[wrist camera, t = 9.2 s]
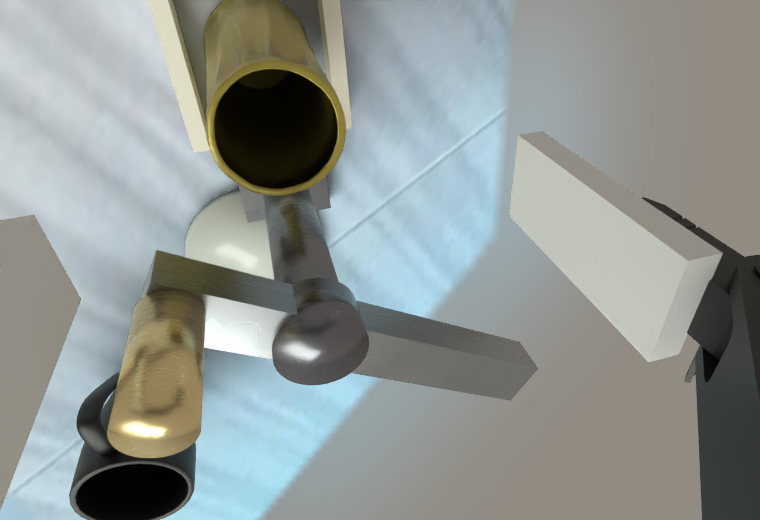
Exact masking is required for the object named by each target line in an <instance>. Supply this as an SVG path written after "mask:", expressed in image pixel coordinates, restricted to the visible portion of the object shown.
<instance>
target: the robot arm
mask: <svg viewBox="0 0 760 520" xmlns="http://www.w3.org/2000/svg"><path fill="white" fill-rule="evenodd" d="M509 216H510V217H511V218H512V219H513V220H514V221H515V222H516V223H517V224H518V225H519V226H520V228H522V230H523V231H524V232H525V233H526V234H527V235H528V236H529V237H530V238H531V239H532V240H533V241H534V242H535V243H536V244H537V245H538V246H539V247H540V248H541V250H542V251H543V252H544V253H545V254H546V255H547V256H548V257H549V258H550V259H551V260H552V261H553V262H554V263H555V264H556V265H557V266H558V267H559V268H560V270H562V271H563V273H564V274H565V275H566V276H567V277H568V278H569V279H570V280H571V281H572V282H573V283H574V284H575V285H576V286H577V287H578V288H579V289H580V290H581V292H583V294H585V296H586V297H587V298H588V299H589V300H590V301H591V302H592V303H593V304H594V305H595V306H596V307H597V308H598V309H599V310H600V311H601V313H602V314H603V315H604V316H605V317H606V318H607V319H608V320H609V321H610V322H611V323H612V324H613V325H614V326H615V327H616V328H617V329H618V330H619V331H620V333H621V334H622V335H623V336H624V337H625V338H626V339H627V340H628V341H629V342H630V343H631V344H632V345H633V346H634V347H635V348H636V349H637V350H638V351H639V352H640V354H641V355H642V356H643V357H644V358H645V359H646V360H647V361H648V362H651V361H655V360H658V359H663V358H666V357H670V356H674V355H678V354H679V353H680V350H681V348H682V346H683V343H684V341H685V339H686V337H687V334H689V335H690V336H691V337H692V338H693V339H694V340H696V341H697V342H698V343H699V344H700V346H699V348H698V350H697V353H696V355H695V357H694V359H693V361H692V363H691V365H690V368H689V370H688V372H687V374H686V377H685V380H684V381H685V382H689V383H690V381H691V379H692V377H693V376H694V375H696V390H697V412H698V435H699V458H700V479H701V502H702V520H760V255H754V256H747V257H744V256H742V255H740V254H739V253H737V252H736V251H735V250H733V249H731V248H730V247H728V246H727V245H725V244H724V243H722V242H721V241H719V240H718V239H716V238H715V237H713V236H712V235H710V234H708V233H707V232H706V231H704V230H702V229H701V228H699V227H698V228H696V226H695V224H693V223H691V222H690V221H689V220H687V219H686V218H685V219H682V216H681V215H679V214H678V213H676V212H675V211H673V210H672V209H670V208H669V207H667V206H666V205H663V204H660V203H658V202H655V201H652V200H650V199H647V198H644V197H643V198H640V197H639V196H637V195H636V194H634V193H633V192H631V191H630V190H628V189H627V188H625V187H624V186H622V185H621V184H619V183H618V182H617V181H615V180H613V179H612V178H611V177H609V176H607V175H606V174H605V173H603V172H602V171H600V170H599V169H597V168H596V167H594V166H593V165H591V164H590V163H588V162H587V161H585V160H584V159H582V158H581V157H579V156H578V155H576V154H575V153H573V152H572V151H570V150H569V149H567V148H566V147H565V146H563V145H562V144H560V143H559V142H557V141H556V140H554V139H553V138H551V137H550V136H548V135H547V134H545V133H544V132H542V131H540V132H534V133H528V134H522V135H518V143H517V151H516V160H515V169H514V177H513V186H512V195H511V205H510V214H509ZM80 300H81V298H80V296H79V294H78V293H77V291H76V289H75V287H74V285H73V284H72V282H71V280H70V278H69V276H68V275H67V273H66V271H65V269H64V267H63V266H62V264H61V262H60V260H59V258H58V257H57V255H56V253H55V251H54V249H53V248H52V246H51V244H50V242H49V240H48V239H47V237H46V235H45V233H44V231H43V230H42V228H41V226H40V224H39V222H38V221H37V219H36V217H35V215H30V216H24V217H18V218H12V219H6V220H0V509H1V507H2V504H3V501H4V499H5V496H6V494H7V491H8V488H9V486H10V483H11V481H12V478H13V475H14V473H15V470H16V468H17V465H18V462H19V460H20V457H21V454H22V452H23V449H24V447H25V444H26V441H27V439H28V436H29V434H30V431H31V428H32V426H33V423H34V421H35V418H36V415H37V413H38V410H39V408H40V405H41V402H42V400H43V397H44V394H45V392H46V389H47V387H48V384H49V381H50V379H51V376H52V374H53V371H54V368H55V366H56V363H57V361H58V358H59V355H60V353H61V350H62V347H63V345H64V342H65V340H66V337H67V334H68V332H69V329H70V327H71V324H72V321H73V319H74V316H75V314H76V311H77V308H78V306H79V303H80Z"/></svg>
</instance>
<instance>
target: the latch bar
mask: <svg viewBox="0 0 760 520" xmlns="http://www.w3.org/2000/svg"><path fill="white" fill-rule="evenodd" d="M204 348H210V349H216V350H222V351H227V352H233V353H239V354H245V355H251V356H256V357H262V358H268V359H273V363H274V366H275V368H276V370H277V371H278V372H279V373H280V374H281V375H282V376H283V377H284V378H286V379H287V380H290V381H292V382H295V383H298V384H303V385H321V384H327V383H330V382H334V381H336V380H339V379H341V378H343V377H345V376H347V375H348V374H350V373H355V374H360V375H366V376H372V377H378V378H384V379H389V380H396V381H401V382H407V383H413V384H419V385H424V386H430V387H436V388H442V389H447V390H453V391H459V392H465V393H470V394H476V395H482V396H488V397H494V398H500V399H505V400H511V399H512V398H513V397H514V396H515V395H516V394H517V392H518V391H519V390H520V389H521V388H522V387H523V385H524V384H525V383H526V382H527V381H528V380H529V379H530V377H531V376H532V375H533V374H534V373H535V371H536V370H537V369H538V368H537V366H536V365H535V363H534V362H533V361H532V359H531V358H530V356H529V355H528V353H527V352H526V350H525V349H524V348H523V346H522V345H521V344H520V342H517V341H513V340H510V339H506V338H502V337H498V336H494V335H490V334H486V333H482V332H478V331H474V330H470V329H466V328H462V327H458V326H454V325H450V324H447V323H442V322H438V321H435V320H431V319H427V318H423V317H419V316H415V315H411V314H407V313H403V312H399V311H395V310H391V309H387V308H383V307H379V306H375V305H371V304H368V303H364V302H360V301H356V299H355V297H354V295H353V293H352V292H351V291H350V289H348V288H347V287H346V286H345V285H343V284H342V283H340V282H338V281H335V280H331V279H326V278H312V279H306V280H302V281H299V282H296V283H294V284H289V283H285V282H281V281H277V280H273V279H269V278H265V277H261V276H257V275H253V274H249V273H245V272H241V271H237V270H233V269H229V268H225V267H221V266H217V265H213V264H209V263H206V262H202V261H198V260H194V259H190V258H186V257H182V256H178V255H174V254H170V253H166V252H162V251H158V250H156V253H155V256H154V258H153V261H152V264H151V267H150V270H149V273H148V276H147V279H146V282H145V284H144V287H143V290H142V293H141V296H140V299H139V301H138V303H137V304H136V306H135V308H134V312H133V317H132V321H131V326H130V330H129V335H128V339H127V344H126V348H125V353H124V357H123V362H122V366H121V371H120V375H119V380H118V384H117V389H116V393H115V398H114V402H113V407H112V411H111V416H110V420H109V425H108V429H107V437H108V440H109V442H110V444H111V445H112V446H113V447H114V448H115V449H117V450H118V451H120V452H122V453H124V454H126V455H130V456H133V457H139V458H160V457H166V456H170V455H173V454H176V453H179V452H181V451H183V450H185V449H186V448H188V447H189V446H191V445H192V444H193V443H194V442H195V441H196V440H197V438H198V437H199V435H200V432H201V418H202V393H203V368H204Z"/></svg>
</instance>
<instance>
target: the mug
mask: <svg viewBox="0 0 760 520" xmlns="http://www.w3.org/2000/svg"><path fill="white" fill-rule="evenodd" d="M119 375H120V372H118V373H116V374H115V375H113V376H112V377H111V378H109V379H108V380H107V381H105V382H104V383H103V384H101V385H100V386H99V387H98V388H97V389H95V390H94V391H93V392H92V393H91V394H90V395H89V396H88V397H87V398H86V399H85V400H84V402H83V403H82V405H81V407H80V410H79V413H78V416H77V429H78V432H79V434H80V436H81V438H82V439H83V440H84V441H85V443H84V445H83V448H82V450H81V454H80V457H79V461H78V464H77V468H76V471H75V475H74V479H73V483H72V487H71V490H70V494H69V497H70V504H71V506H72V508H73V509H74V511H75V512H76V513H77V514H79V515H80V516H81V517H83V518H85V519H87V520H160V519H162V518H165V517H167V516H169V515H171V514H173V513H175V512H177V511H178V510H179V509H181V508H182V507H183V506H184V505H185V504H186V503H187V502H188V501H189V500H190V498H191V496H192V494H193V492H194V483H195V462H196V444H195V442H194V443H193V444H192V445H191V446H189V447H188V448H186V449H185V450H183V451H181V452H179V453H176V454H173V455H170V456H166V457H160V458H139V457H133V456H130V455H126V454H124V453H122V452H120V451H118V450H117V449H115V448H114V447H113V446H112V445H111V444H110V442H109V440H108V437H107V429H108V425H109V420H110V416H111V411H112V407H113V402H114V398H115V393H116V389H117V384H118V380H119ZM114 389H115V390H114ZM113 391H114V392H113ZM112 392H113V394H112V395H111V397H110V398H109V400H108V401H107V403H106V404H105V406H104V407H103V405H104V403H105V401H106V399H107V398H108V396H109V395H110V394H111V393H112ZM102 408H103V409H102Z"/></svg>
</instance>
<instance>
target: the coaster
mask: <svg viewBox="0 0 760 520" xmlns="http://www.w3.org/2000/svg"><path fill="white" fill-rule="evenodd" d="M185 257H186V258H190V259H194V260H198V261H202V262H206V263H209V264H213V265H217V266H221V267H225V268H229V269H233V270H237V271H241V272H245V273H249V274H253V275H257V276H261V277H265V278H269V279H273V280H274V274H273V267H272V260H271V253H270V246H269V239H268V232H267V225H266V220H261V221H255V222H250V223H248V222H247V218H246V215H245V211H244V207H243V203H242V199H241V195H240V191H235V192H231V193H228V194H225V195H223V196H221V197H219V198H217V199H215V200H213V201H212V202H210V203H209V204H207V205H206V206H205V207H204V208H203V209H202V210H200V212H199V213H198V214H197V215H196V216H195V218H194V219H193V221H192V223H191V224H190V227H189V229H188V232H187V236H186V242H185Z"/></svg>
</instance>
